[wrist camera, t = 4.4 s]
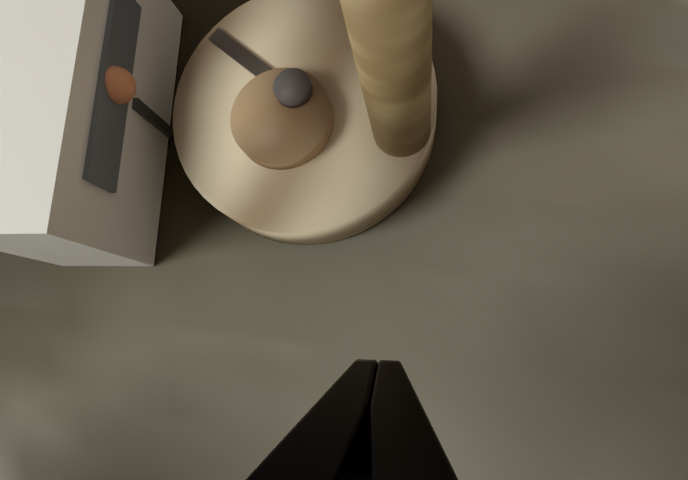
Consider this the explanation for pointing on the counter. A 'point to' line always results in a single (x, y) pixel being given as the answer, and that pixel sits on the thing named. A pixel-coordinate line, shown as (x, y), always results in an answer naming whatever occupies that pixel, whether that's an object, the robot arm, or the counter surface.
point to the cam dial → (309, 114)
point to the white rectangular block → (85, 127)
